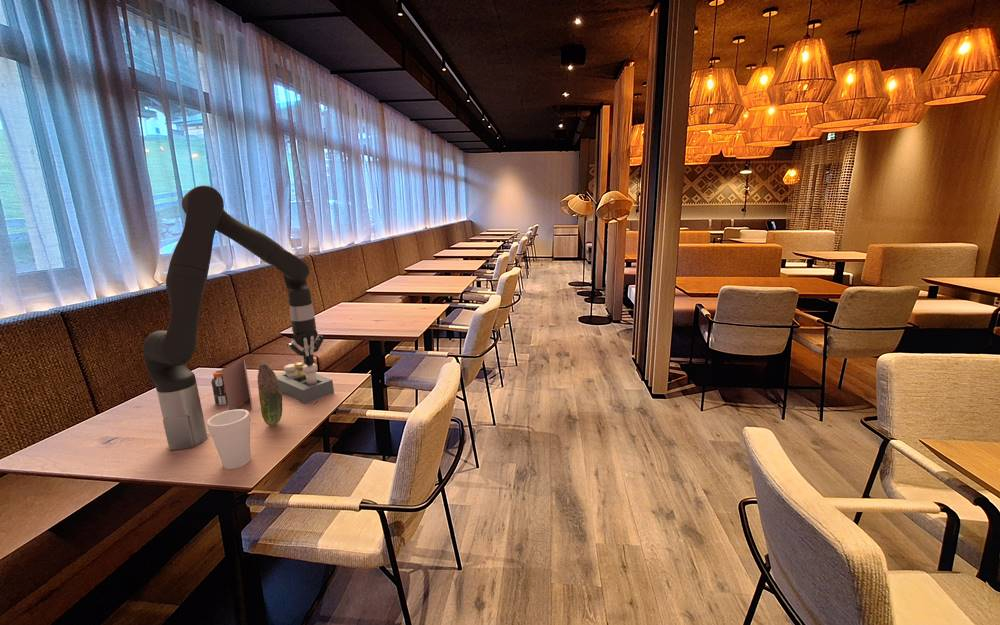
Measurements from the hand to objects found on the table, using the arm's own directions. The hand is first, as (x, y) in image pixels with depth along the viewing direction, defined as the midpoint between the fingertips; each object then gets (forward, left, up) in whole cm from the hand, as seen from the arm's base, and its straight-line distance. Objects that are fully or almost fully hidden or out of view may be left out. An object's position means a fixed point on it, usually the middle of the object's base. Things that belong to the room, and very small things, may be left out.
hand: (309, 365), depth 156 cm
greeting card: (-2, +21, -12) cm, 24 cm away
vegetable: (-20, +8, -12) cm, 24 cm away
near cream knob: (0, 0, -7) cm, 7 cm away
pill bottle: (+3, +30, -12) cm, 32 cm away
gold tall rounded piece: (+5, +5, -7) cm, 10 cm away
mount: (+5, +5, -12) cm, 13 cm away
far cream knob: (+11, +9, -10) cm, 17 cm away
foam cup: (-41, +12, -12) cm, 44 cm away
